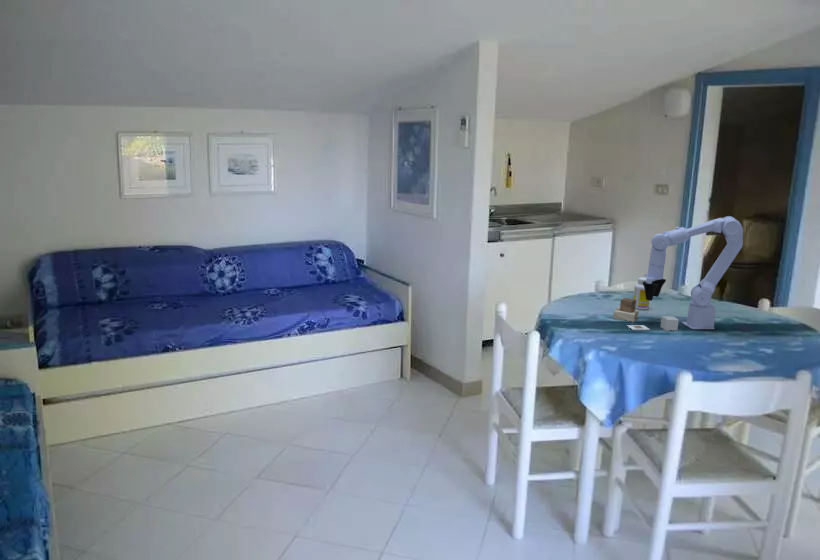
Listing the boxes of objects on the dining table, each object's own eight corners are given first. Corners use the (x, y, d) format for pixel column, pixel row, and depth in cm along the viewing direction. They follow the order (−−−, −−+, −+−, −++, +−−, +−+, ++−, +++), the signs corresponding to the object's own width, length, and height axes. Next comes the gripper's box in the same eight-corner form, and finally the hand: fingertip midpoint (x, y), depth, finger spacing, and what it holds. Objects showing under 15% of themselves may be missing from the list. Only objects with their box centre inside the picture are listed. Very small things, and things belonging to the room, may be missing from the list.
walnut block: (624, 308, 268) (625, 297, 267) (634, 310, 265) (636, 299, 264) (619, 310, 265) (620, 299, 264) (630, 312, 262) (631, 301, 261)
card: (643, 325, 256) (643, 325, 256) (649, 330, 251) (649, 329, 251) (626, 325, 255) (626, 324, 255) (632, 330, 250) (632, 329, 250)
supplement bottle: (651, 309, 280) (655, 279, 277) (641, 311, 276) (645, 281, 273) (638, 305, 285) (642, 276, 282) (628, 306, 282) (632, 277, 278)
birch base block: (618, 314, 271) (619, 306, 270) (637, 318, 267) (639, 310, 266) (612, 319, 264) (613, 310, 263) (633, 323, 260) (634, 314, 259)
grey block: (671, 327, 256) (672, 316, 255) (677, 331, 252) (678, 319, 251) (660, 327, 256) (661, 316, 254) (666, 331, 251) (667, 319, 250)
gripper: (652, 260, 265) (648, 292, 268) (640, 265, 254) (635, 299, 257) (670, 263, 261) (665, 296, 264) (658, 268, 250) (653, 303, 253)
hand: (652, 298), depth 261 cm, fingers open, 7 cm apart
